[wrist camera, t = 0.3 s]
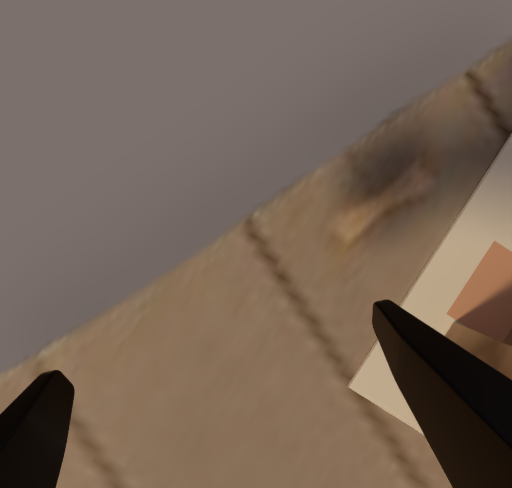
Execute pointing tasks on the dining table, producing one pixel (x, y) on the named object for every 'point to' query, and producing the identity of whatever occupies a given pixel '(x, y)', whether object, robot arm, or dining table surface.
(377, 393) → the mat
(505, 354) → the t block
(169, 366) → the dining table surface
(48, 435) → the robot arm
